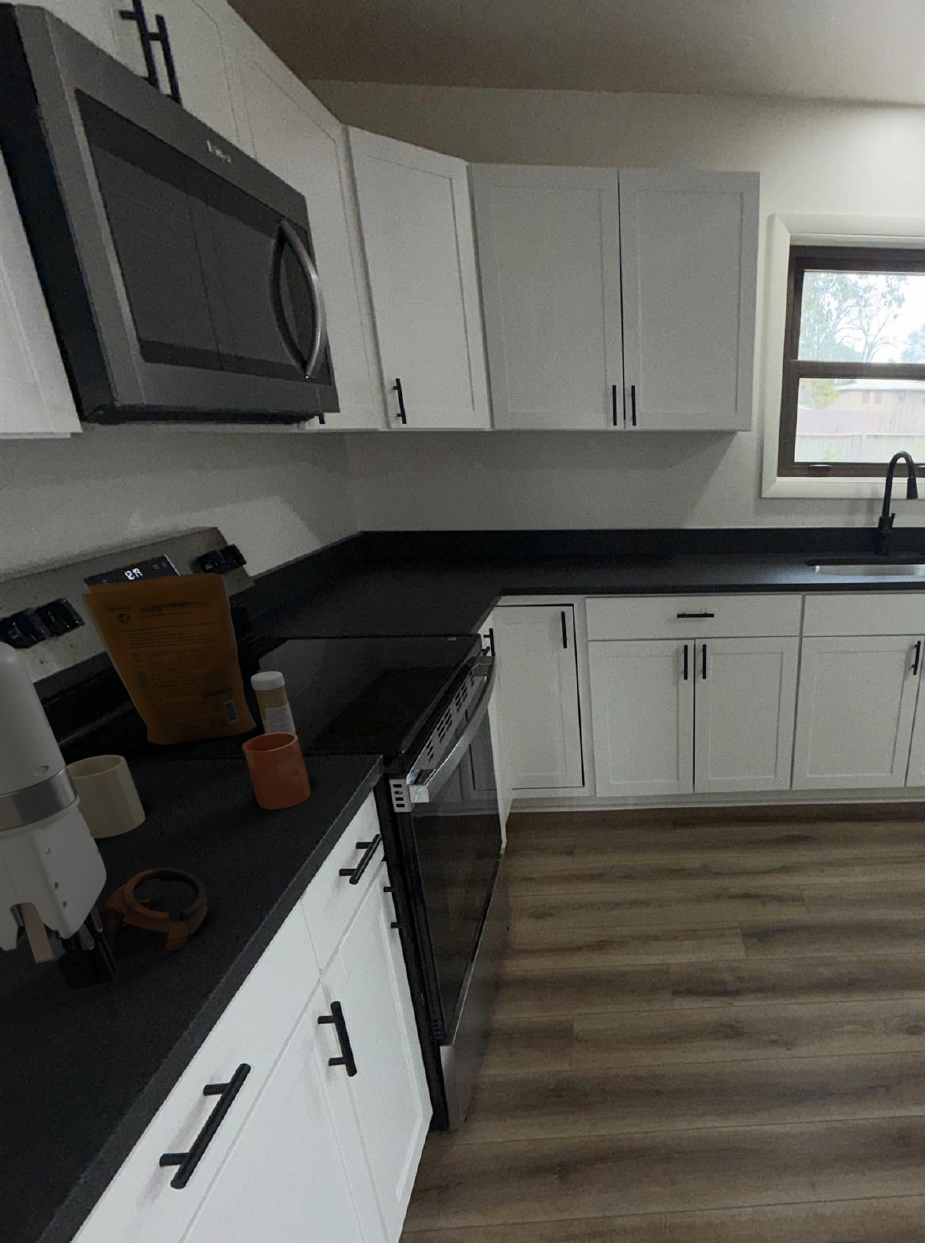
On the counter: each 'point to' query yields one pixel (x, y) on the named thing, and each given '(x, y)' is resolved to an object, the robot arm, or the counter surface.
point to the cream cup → (106, 795)
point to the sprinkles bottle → (273, 702)
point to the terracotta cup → (277, 770)
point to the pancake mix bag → (174, 654)
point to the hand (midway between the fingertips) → (94, 979)
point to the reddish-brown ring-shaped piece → (137, 913)
